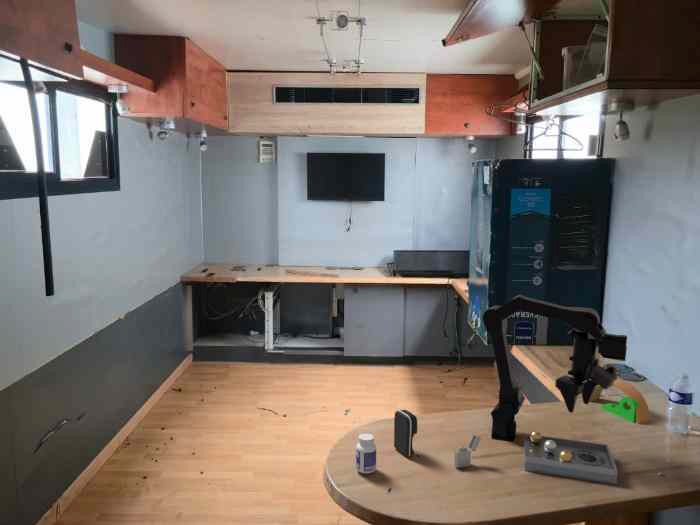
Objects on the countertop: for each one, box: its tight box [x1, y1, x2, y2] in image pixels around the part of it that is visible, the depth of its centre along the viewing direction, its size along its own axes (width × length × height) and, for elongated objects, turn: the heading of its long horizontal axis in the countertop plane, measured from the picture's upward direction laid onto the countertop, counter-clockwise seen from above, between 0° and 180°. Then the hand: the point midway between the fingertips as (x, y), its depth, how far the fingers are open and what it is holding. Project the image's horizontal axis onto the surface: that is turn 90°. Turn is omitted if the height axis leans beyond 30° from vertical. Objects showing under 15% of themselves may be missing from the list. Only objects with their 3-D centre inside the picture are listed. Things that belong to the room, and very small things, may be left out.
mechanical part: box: [600, 396, 639, 423], centre depth 176 cm, size 12×6×8 cm, turn 26°
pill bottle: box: [355, 433, 377, 474], centre depth 139 cm, size 5×5×9 cm
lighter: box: [453, 433, 482, 469], centre depth 142 cm, size 7×2×8 cm, turn 111°
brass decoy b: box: [559, 450, 573, 463], centre depth 139 cm, size 3×3×3 cm
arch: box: [589, 379, 651, 425], centre depth 178 cm, size 6×20×10 cm, turn 25°
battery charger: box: [393, 409, 418, 457], centre depth 149 cm, size 7×4×11 cm, turn 30°
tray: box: [523, 432, 619, 486], centre depth 143 cm, size 22×15×4 cm
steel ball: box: [544, 440, 557, 453], centre depth 144 cm, size 3×3×3 cm
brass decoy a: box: [529, 430, 543, 443], centre depth 150 cm, size 3×3×3 cm
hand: (578, 407), depth 148 cm, fingers open, 9 cm apart
